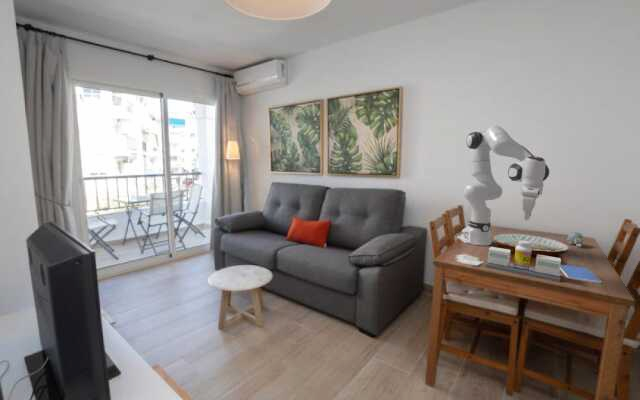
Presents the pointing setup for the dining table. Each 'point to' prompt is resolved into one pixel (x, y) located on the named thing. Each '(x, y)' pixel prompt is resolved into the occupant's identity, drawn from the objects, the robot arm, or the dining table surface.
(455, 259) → the dining table surface
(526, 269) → the DIN rail
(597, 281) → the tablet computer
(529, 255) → the supplement bottle
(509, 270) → the rail panel
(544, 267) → the mounted modules
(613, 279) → the dining table surface
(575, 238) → the rhino figurine
